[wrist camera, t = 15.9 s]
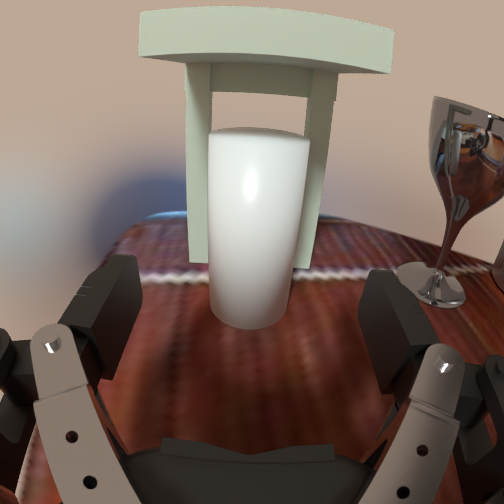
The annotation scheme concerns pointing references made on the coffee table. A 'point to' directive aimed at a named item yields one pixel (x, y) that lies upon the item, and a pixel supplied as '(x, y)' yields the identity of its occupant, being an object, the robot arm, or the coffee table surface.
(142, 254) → the coffee table surface
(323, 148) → the small green stool
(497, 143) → the wine glass
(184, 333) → the coffee table surface
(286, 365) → the coffee table surface
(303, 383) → the coffee table surface
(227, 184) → the white plastic cylinder
